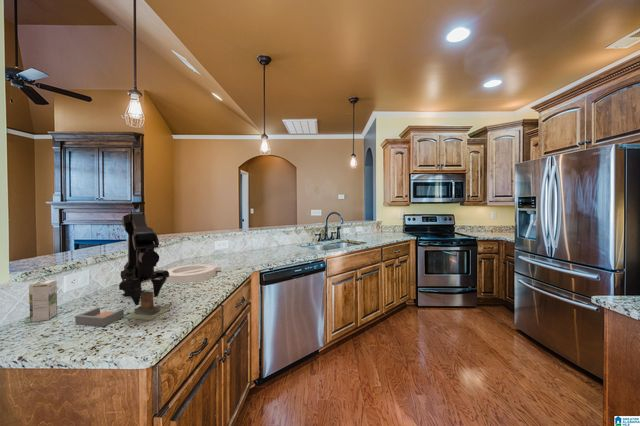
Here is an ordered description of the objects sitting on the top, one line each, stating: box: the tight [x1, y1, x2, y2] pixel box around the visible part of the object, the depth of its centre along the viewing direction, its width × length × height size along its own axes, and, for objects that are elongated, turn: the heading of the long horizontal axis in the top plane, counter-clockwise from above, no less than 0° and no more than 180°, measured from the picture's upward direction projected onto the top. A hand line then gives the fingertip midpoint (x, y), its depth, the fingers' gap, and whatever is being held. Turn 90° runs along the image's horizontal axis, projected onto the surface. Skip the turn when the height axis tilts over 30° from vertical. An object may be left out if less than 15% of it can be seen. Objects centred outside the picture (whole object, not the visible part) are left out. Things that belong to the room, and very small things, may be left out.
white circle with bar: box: [164, 263, 222, 284], centre depth 161 cm, size 28×28×5 cm
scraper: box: [134, 291, 161, 315], centre depth 107 cm, size 4×8×8 cm, turn 79°
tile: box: [96, 310, 115, 317], centre depth 103 cm, size 6×6×2 cm
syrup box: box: [28, 279, 58, 323], centre depth 104 cm, size 6×6×14 cm
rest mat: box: [122, 307, 170, 321], centre depth 107 cm, size 10×12×1 cm
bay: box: [74, 307, 125, 327], centre depth 101 cm, size 8×12×3 cm, turn 79°
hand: (146, 300), depth 107 cm, fingers open, 9 cm apart
